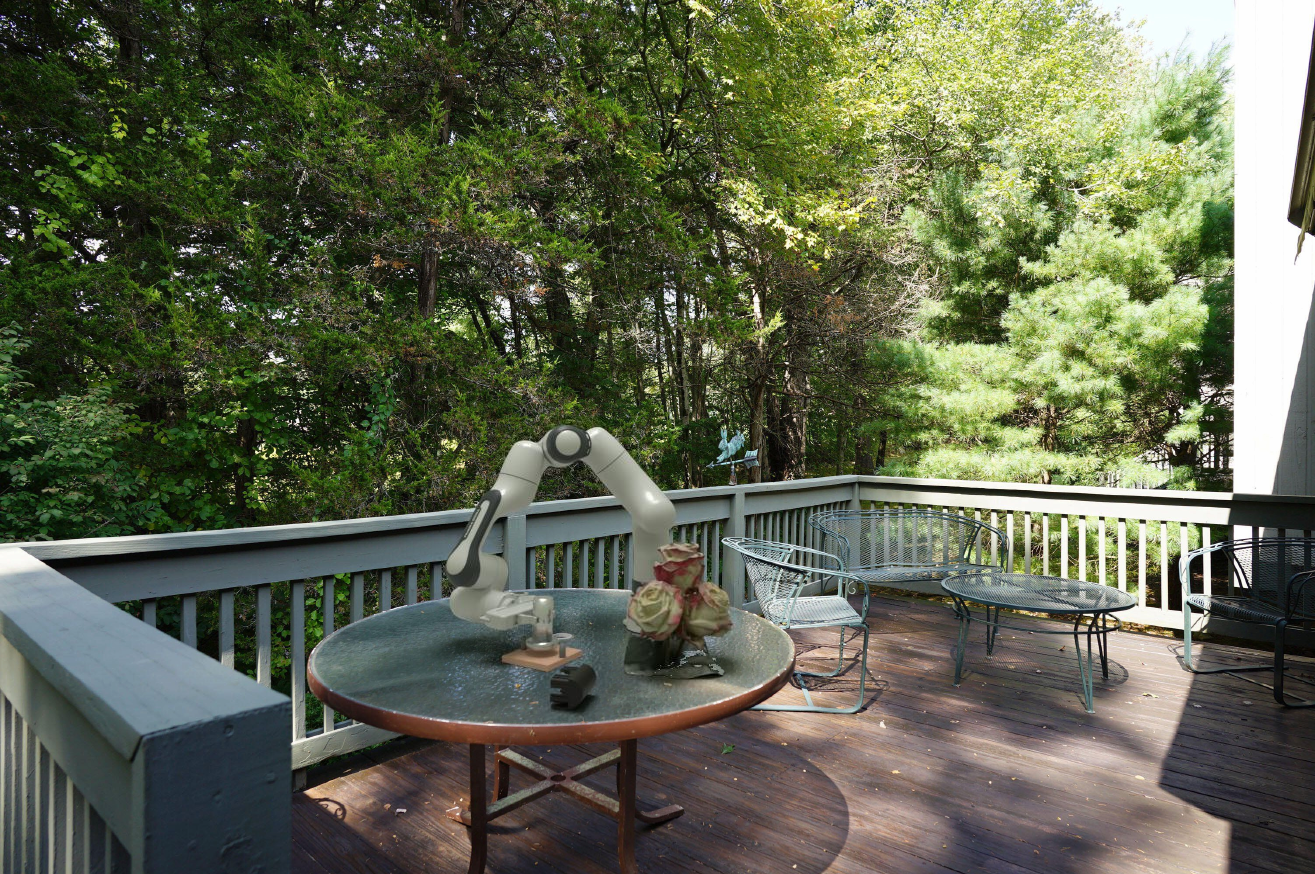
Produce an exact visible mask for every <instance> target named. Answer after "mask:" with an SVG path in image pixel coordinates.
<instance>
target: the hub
mask: <svg viewBox="0 0 1315 874" xmlns="http://www.w3.org/2000/svg"><path fill="white" fill-rule="evenodd" d="M535 596H536V597H533V615H535V616H539V623H537V624H535V625H534V624H531V626H532V627H531V631H532V632H531V636H530V637H527V639H526V648H527V649H529V650H533V651H548V650H553V649H556V648H557V647H558V646H559V638H558V637H556V636H553V634H554V633H553V627H554V626H553V625H554V624H553V623H554V618H553V602H554V597H553V596H551V595H535Z"/></svg>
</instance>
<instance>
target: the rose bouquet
mask: <svg viewBox="0 0 1315 874" xmlns="http://www.w3.org/2000/svg"><path fill="white" fill-rule="evenodd" d="M670 547H671V548H670ZM699 548H700V546H699V544H698V543H694V541H689V543H686V542H684V541H678V542H677V541H675V542H671V541H670V544H666V545H665V546H661V547H659V548H657V550H658V551H659V552H660V553H661V554H662V555H663V562H659V561H656V562H655V564H654V565H655V566H653V569H654V570H653V573H654V576H655V577H656V580H652V581H650V582H649V583H647V584H645V585H644V586H643V587H642V588H641V589H640V591H639V592H637V594H632V593H631V594H630V595H631V596H632V597H633V598H632V600H631V604H629V607H628V606H627V607H628V613H627V612H626V617H627V616H628V618H629V619H632V620H633V621H634V622H635V623H636V625H637V626H639V627H640V628H641V629H642V630H641V631H640V632H641V633H639V634H635V633H630V636H629V637H628V639H627V645H626V646H625V654H624V660H623V668H624V672H625V673H626V674H628V675H632V676H642V675H643V678H646V677H650V676H660V675H662V676H666V677H668V678H671V679H679V680H680V679H692V678H693V679H694V678H695V677H699V676H704V675H710V674H717V675H718V676H720V675H719V673H718V672H719V671H718V670H713V669H711V668H713V666H709V664H710V665H711V664H716V663H718V661H717V660H716V661H717V662H716V661H715V660H713V659H712V658H713V657H712V655H711V654H710V653H709V650H708V649H709V648H708V646H707V643H706V640H705V638H704V637H713V638H714V637H715V638H723V637H724V635H726V634H727V633H729V632H730V631H731V630H732V626H733V624H734V623H733V622H732V620H731V615H730V614H729V610H730V607H729V606H728V605H730V599H729V598H730V597H729V595H728V593H727V592H726V591H725V590H723V589H720V587H719V586H718V585H717V584H716V583H714V582H712V581H704V580H702V579H703V575H704V574H705V573H704V572H705V568H706V565H705V564H703V563H701V562H702V561H703V560H704V558H705V557H706V555H705V554H703V553H702V552H699V551H697V550H698V549H699ZM697 650H700V651H702V650H703V652H704V653H705V654H706V656H700V655H694V656H690V657H686V659H684V660H682V661H688V662H686V663H684V664H681V665H682V666H679V667H675V668H673V669H660V670H657V669H659V668H661V667H660V665H661V666H668V665H671V663H672V662H677V661H681V660H679V659H680V658H678V657H681V656H680V655H682V654H681V653H686V652H684V651H697ZM677 663H678V662H677ZM694 665H702V666H701V667H695V666H694ZM716 665H717V664H716ZM655 668H656V669H655ZM652 669H653V670H652ZM655 670H656V671H655ZM655 672H656V673H655ZM645 675H646V676H645ZM671 675H672V676H671Z"/></svg>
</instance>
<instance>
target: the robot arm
mask: <svg viewBox="0 0 1315 874" xmlns="http://www.w3.org/2000/svg"><path fill="white" fill-rule="evenodd" d="M578 461H582V462H583V463H585V464H586V465H587V466H589V467H590V469H591V470H592V472H593V473H594V474H595V475H596V476H597V477H598V479H599V480H600V482H602V484H604V485H605V487H606V488H607V489H608V491H609V492H610V493H611V495H613V496H614V497H615V499H616V500H617V501H618V502H619V503H620V504H621V506H622V507H623V508H624V509H625V510H626V511H627V512H628V514H629V515H630V516H631V531H632V532H631V533H632V546H633V550H632V551H633V565H632V567H633V569H632V573H633V574H632V575H633V576H632V577H633V578H631V584H630V586H631V588H630V589H631V590H630V591H631V594H637V592H639V591H640V589H641V588H642V587H643V586H644V585H645V584H647V583H649V582H650V581H652V580H656V577H655V576H654V573H653V570H654V569H653V566H655V565H654V564H655V562H656V561H659V562H663V555H662V554H661V553H660V552H659V551H658V550H657V548H659V547H661V546H665V545H666V544H670V542H671V538H670V530H671V529H672V528H673V526H674V525H675V523H676V519H677V511H676V508H675V506H674V504H673V502H672V501H671V500H670V499H669V497H667V496H666V494H665V493H664V492H663V490H661V489H660V487H658V485H657V484H656V483H655V482H654V481H653V480H652V479H651V477H650V476H648V474H647V473H646V472H645V471H644V470H643V469H642V468H641V467H640V465H639V464H638V463H637V462H636V461H635V459H634V458H633V457H632V455H630V454H629V452H628V451H627V450H626V449H625V447H624V446H623V445H622V444H621V442H619V440H617V439H616V438H615V437H614V436H613V435H612V434H611V433H609V431H607V430H606V429H604V428H603V427H600V426H599V427H598V426H597V427H592V428H590V429H589V428H588V429H587V430H586V431H585V430H583V429H580V428H578V427H575V426H573V425H569V424H562V425H559V426H556V427H554V428H552V429H550V430H549V431H548V432H547V433H545V435H544V436H543V437H542V438H541V439H540V440H538V441H537V442H533V441H531V440H519V441H517V442H515V443H514V444H513V445H512V447H511V448H510V450H509V452H508V454H507V456H506V457H505V459H504V462H503V464H502V467H501V469H500V472H499V474H498V477H497V479H496V481H495V483H494V485H493V486H492V487H491V488H490V489H489V490H488V491H486V492H484V493H483V495H482V496H481V498H480V500H479V502H477V505H476V507H475V509H474V511H473V513H472V515H471V516H470V518H469V521H468V523H467V524H466V527H465V529H464V530H463V533H462V534H461V536H460V538H459V540H458V542H457V544H456V545H455V546H454V548H453V549H452V550H451V552H450V553H449V555H448V557H447V558H446V561H445V564H444V565H445V567H444V569H445V570H444V571H445V575H446V577H447V578H446V579H447V580H448V582H449V583H450V584H451V585H452V586H454V587H457V588H455V589H453V591H452V592H451V594H450V597H449V607H450V610H451V612H452V613H453V615H454V616H456V617H457V618H458V619H460V620H464V621H466V622H471V623H475V624H485V627H488V628H492V629H495V630H498V631H507V630H510V629H513V628H515V627H518V626H521V625H532V624H534V625H535V624H537V623H539V616H535V615H533V597H536V596H537V595H533V594H532V595H531V594H530V595H529V592H526V591H518V592H509V591H508V592H507V591H505V589H506V586H507V583H508V581H509V576H510V567H509V564H508V563H507V560H505V558H503V557H502V556H498V555H495V554H492V553H487V552H484V551H482V548H483V546H484V544H485V541H486V539H487V537H488V536H489V533H490V531H491V529H492V527H493V525H494V524H495V522H496V521H497V519H499V518H501V517H502V516H504V515H507V514H512V513H513V514H514V513H518V512H522V511H523V510H526V508H528V507H529V506H530V505H531V504H532V503H533V501H534V498H535V497H536V495H537V491H538V488H539V485H540V482H541V478H542V477H543V474H544V471H546V469H562V468H565V467H568V466H571V465H572V464H574V463H575V462H578ZM670 548H671V547H670ZM631 594H630V595H628V598H627V608H626V614H627V613H628V607H629V604H631V600H632V598H633V597H632V596H631ZM554 604H555V603H554V601H553V619H554V618H555V617H556V611H555V609H554ZM622 624H623V625H625V626H626V628H627V629H628V630H629V631H631V632H634V633H639V634H640V633H641V632H640V631H641V630H642V629H641V628H640V627H639V626H637V625H636V623H635V622H634V621H633V620H632V619H629V618H628V616H627V615H626V618H625V619H623V620H622Z"/></svg>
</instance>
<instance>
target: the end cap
mask: <svg viewBox="0 0 1315 874" xmlns="http://www.w3.org/2000/svg"><path fill="white" fill-rule="evenodd" d="M561 667H562V668H560V669H559V671H560V673H563V674H558V673H555V674H554V675H553V676H551V678H550V683H549V684H550V685H549V687H550V689H559V693H552V692H550V693H549V701H550V702H552V703H550V709H552V708H555V709H554V710H560V709H562V710H563V711H572V710H574V709H575V708H577V706H579V705H580V704H581V703H582V701H583V700H584V699H585V698H586V697H587V696H588V694H589V693H590V692H591V691H592V690H593V688H594V687H595V685H596V683H597V674H596V671H595V670H594V668H593V667H592V666H591V665H589V664H587V663H582V664H581V665H580V666H571V665H569V666H568V665H563V666H561Z"/></svg>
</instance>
